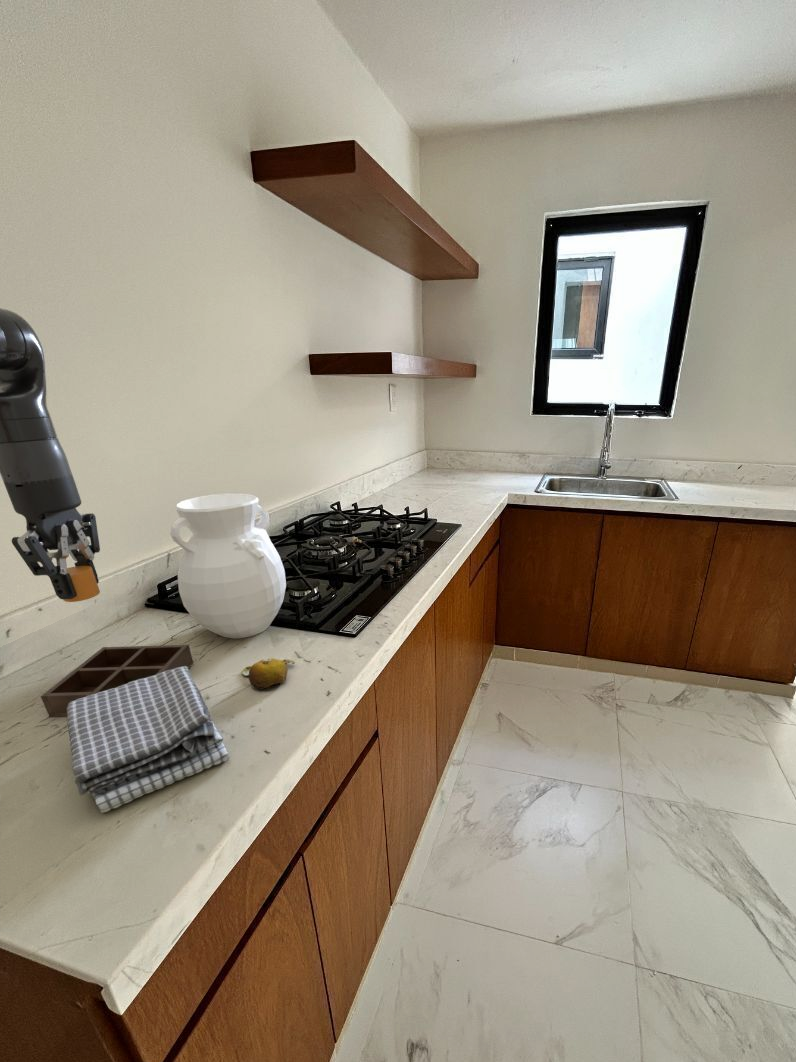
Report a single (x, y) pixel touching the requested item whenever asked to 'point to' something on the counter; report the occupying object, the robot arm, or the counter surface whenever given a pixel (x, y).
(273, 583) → the white vase
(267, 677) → the yellow rounded lumpy piece
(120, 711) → the towel
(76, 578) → the orange cylinder
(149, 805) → the counter surface
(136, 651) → the grid
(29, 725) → the counter surface
